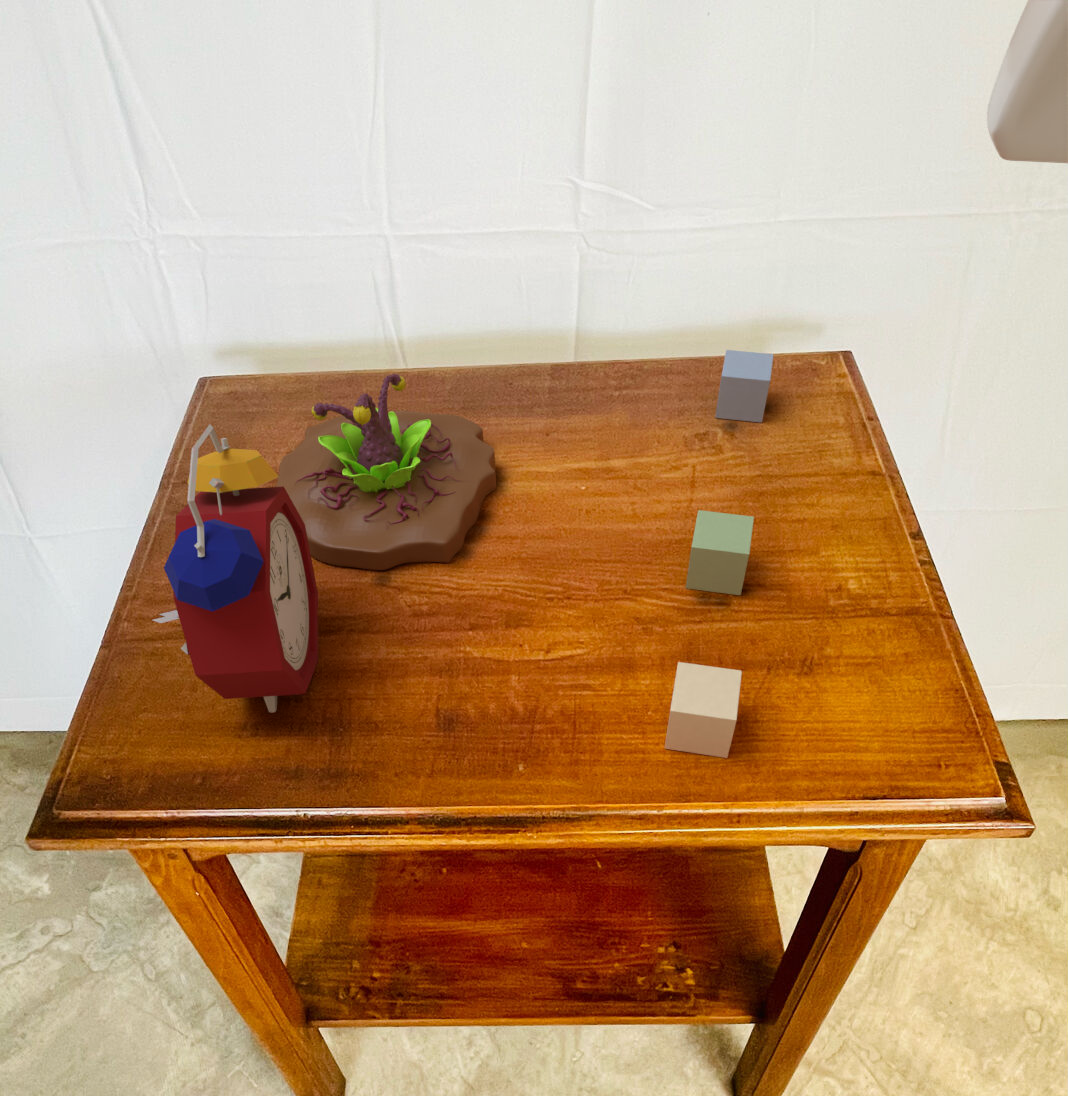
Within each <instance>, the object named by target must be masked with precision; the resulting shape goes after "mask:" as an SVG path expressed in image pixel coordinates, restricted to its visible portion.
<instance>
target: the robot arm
mask: <svg viewBox="0 0 1068 1096" xmlns="http://www.w3.org/2000/svg"><path fill="white" fill-rule="evenodd" d="M1013 31H1014V32H1013V34H1012V36H1011V38H1010V41H1009V44H1008V46H1007V47H1006V51H1005V54H1004V56H1003V58H1002V62H1001V64H1000V67H999V70H998V73H997V75H996V78H995V80H994V84H993V87H992V89H991V90H992V91H991V93H990V96H989V100H988V104H987V109H986V122H987V123H986V125H987V130H988V135H989V136H990V140H991V142H992V144H993V146H994V148H995V150H996V152H997V154H998V155H999V157H1000V158H1001V159H1002V160H1005V161H1009V162H1010V161H1011V162H1030V163H1031V162H1032V163H1052V164H1068V0H1027V1H1026V4H1025V6H1024V8H1023V10H1022V13H1021V16H1019V20H1018V22H1017V24H1016V26H1015V28H1014V30H1013Z"/></svg>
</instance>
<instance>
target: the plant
mask: <svg viewBox="0 0 1068 1096" xmlns="http://www.w3.org/2000/svg"><path fill="white" fill-rule="evenodd" d="M382 382H383V383H382V384H381V386H380V387H381V389H380V390H379V393H380V394H379V396H378V403H377V406H376V403H375V402H374V401H373V397H372V396H371V395H370V396H369V394H368V393H367V392H365V393H362V394H360V396H359V397H358V398H357V400H356V403H354V404H355V405H354V406H353V410H351V409H349V408H347V407H346V406H342V405H340V404H334V403H330V404H329V403H322V402H317V403H315V404H314V405H313V406H312V407H311V415H312V416H313V417H314V419H316V420H317V421H323V420H325V419H326V418H327V416H328V412H334V413H336V414H338V415H341V416H338V417H333V418H331V419H328V420H326V421H324V422H322V423H318V424H316V425H315V424H314V425H312V426H308V427H307V428H305V430H304V439H303V440H302V442H301V443H300V444H299V445H298V446H296V448H294V449H292V451H290V452H288V453H286V454H285V455H284V456H283V457H282V458H281V461H280V463H279V469H278V476H279V477H277V482H276V486H275V487H282V486H284V488H285V490H286V491H287V493H288V495H289V497H290V499H291V500H292V502H293V504H294V506H295V508H296V509H297V511H298V513H299V515H300V516H301V518H302V520H303V522H304V524H305V528H306V533H307V539H308V544H309V549H310V554H311V557H312V558H313V559H315V560H317V561H319V562H323V563H325V564H329V565H331V566H335V567H336V566H337V567H343V568H344V567H346V568H357V569H361V570H371V571H385V570H389V569H391V568H394V567H396V566H399V565H403V564H408V563H446V564H448V563H450V562H451V560H452V559H453V557H454V556H455V555H456V554H458V552H460V551H461V550H462V547H463V546H464V541H465V539H466V536H467V533H468V532H469V530H470V529H472V527H473V526H474V525H475V524H476V522H477V520H478V517H479V515H480V510H481V507H482V503H483V501H484V499H485V498H486V497H487V496H489V494H490V493H492V492H494V491H495V490H497V478H496V477H497V476H496V475H497V474H496V454H495V453H496V452H495V449H494V447H493V446H491V445H489V444H488V443H486V442H485V440H484V430H483V428H482V427H481V426H480V425H478V424H477V423H475V422H474V421H472V420H470V419H468V418H466V417H463V416H460V415H456V414H445V413H429V412H420V411H419V412H418V411H409V410H388V408H389V407H388V395H389V394H388V392H389V386H390V385H391V388H392V389H393V390H395V391H397V392H402V391H404V390H405V389H406V386H407V382H406V379H405V378H404V376H400V374H398V373H393V374H389V375H386V377H384V379H383V380H382ZM377 407H378V408H377Z"/></svg>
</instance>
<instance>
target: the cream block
mask: <svg viewBox="0 0 1068 1096" xmlns="http://www.w3.org/2000/svg"><path fill="white" fill-rule="evenodd" d="M742 675H743V671H742V670H740V669H733V668H725V667H718V666H711V665H703V664H697V663H690V662H682V661H678V662H677V666H676V671H675V678H674V683H673V689H672V690H673V691H672V697H671V702H670V709H669V716H668V722H667V730H666V735H665V736H666V737H665V741H664V742H665V743H664V749H666V750H672V751H678V752H684V753H690V754H697V755H705V756H711V757H717V758H722V759H723V758H724V759H728V757H729V754H730V753H729V752H730V750H731V745H732V741H733V737H734V734H735V729H736V725H737V721H738V712H739V703H740V694H741V684H742Z"/></svg>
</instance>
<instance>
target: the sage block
mask: <svg viewBox="0 0 1068 1096" xmlns="http://www.w3.org/2000/svg"><path fill="white" fill-rule="evenodd" d="M754 520H755V516H754V515H753V516H751V515H743V514H737V513H736V514H735V513H728V512H727V513H725V512H719V511H709V510H702V509H698V511H697V515H696V520H695V526H694V529H693V530H694V531H693V537H692V542H691V547H690V554H689V560H688V561H689V562H688V569H687V574H686V575H687V576H686V582H685V589H688V590H696V591H703V592H709V593H710V592H711V593H719V594H727V595H734V596H741V595H742V590H743V586H744V581H745V576H746V573H747V567H748V563H749V558H750V553H751V546H752V545H751V544H752V537H753V529H754Z"/></svg>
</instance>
